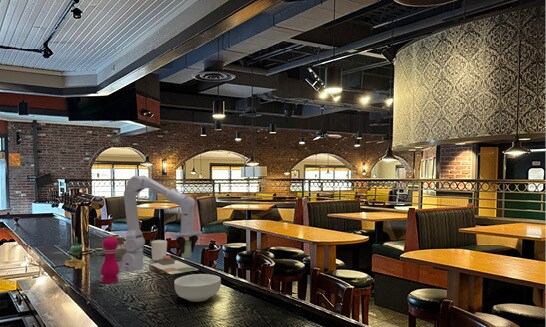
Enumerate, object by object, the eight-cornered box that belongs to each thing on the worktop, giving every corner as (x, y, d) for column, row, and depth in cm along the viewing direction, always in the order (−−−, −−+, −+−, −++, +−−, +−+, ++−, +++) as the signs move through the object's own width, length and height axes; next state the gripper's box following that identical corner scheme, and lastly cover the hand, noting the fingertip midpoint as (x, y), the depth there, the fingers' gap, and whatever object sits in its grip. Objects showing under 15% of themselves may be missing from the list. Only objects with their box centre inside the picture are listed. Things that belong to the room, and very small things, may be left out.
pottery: (110, 263, 206) (111, 239, 206) (99, 254, 226) (100, 232, 226) (133, 260, 212) (134, 237, 212) (120, 252, 233) (121, 231, 233)
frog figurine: (82, 260, 211) (83, 232, 210) (89, 271, 196) (91, 241, 195) (61, 262, 205) (63, 233, 204) (67, 274, 190) (69, 243, 190)
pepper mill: (112, 284, 168) (113, 235, 168) (96, 283, 169) (97, 234, 169) (122, 279, 175) (123, 232, 175) (107, 278, 176) (108, 232, 176)
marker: (188, 258, 187) (188, 241, 187) (180, 257, 188) (180, 241, 189) (192, 256, 191) (193, 240, 191) (185, 255, 192) (185, 239, 193)
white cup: (157, 263, 206) (157, 243, 206) (147, 261, 211) (148, 241, 211) (170, 260, 213) (170, 241, 213) (160, 258, 217) (160, 239, 217)
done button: (171, 260, 201) (171, 256, 201) (164, 261, 199) (164, 257, 199) (168, 259, 204) (168, 255, 204) (161, 260, 202) (161, 256, 202)
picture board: (199, 272, 189) (199, 265, 189) (170, 276, 181) (170, 269, 181) (176, 262, 209) (176, 256, 209) (149, 266, 200) (150, 259, 200)
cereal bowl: (200, 289, 163) (200, 271, 163) (230, 297, 152) (230, 278, 152) (164, 299, 149) (164, 279, 150) (194, 309, 139) (194, 288, 139)
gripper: (176, 225, 182) (175, 255, 182) (205, 223, 191) (205, 252, 191) (169, 223, 188) (169, 253, 188) (198, 221, 197) (197, 249, 197)
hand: (186, 252), depth 190 cm, fingers closed on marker, 4 cm apart
